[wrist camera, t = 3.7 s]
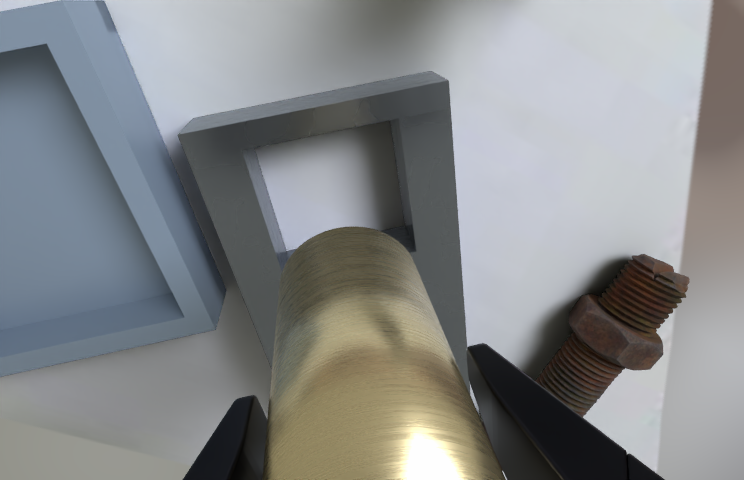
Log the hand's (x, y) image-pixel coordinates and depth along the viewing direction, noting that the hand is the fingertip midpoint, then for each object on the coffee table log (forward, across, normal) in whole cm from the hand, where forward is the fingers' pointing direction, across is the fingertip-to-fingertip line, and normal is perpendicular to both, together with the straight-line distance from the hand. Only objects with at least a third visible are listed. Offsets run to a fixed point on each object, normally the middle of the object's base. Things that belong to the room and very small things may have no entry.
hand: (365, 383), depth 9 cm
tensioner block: (+12, 0, +5) cm, 13 cm away
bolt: (+12, -12, +14) cm, 22 cm away
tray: (+12, +13, -2) cm, 18 cm away
